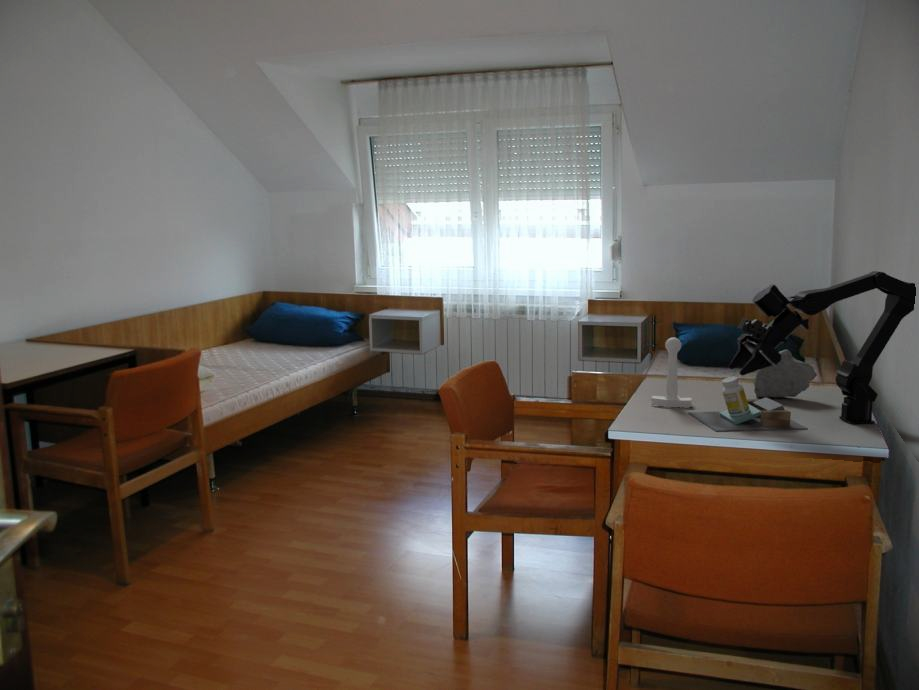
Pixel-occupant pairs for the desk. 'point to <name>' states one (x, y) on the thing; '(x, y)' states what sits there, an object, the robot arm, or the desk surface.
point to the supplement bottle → (735, 397)
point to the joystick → (672, 380)
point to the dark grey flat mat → (750, 421)
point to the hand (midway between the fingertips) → (735, 371)
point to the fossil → (784, 377)
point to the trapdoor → (753, 410)
